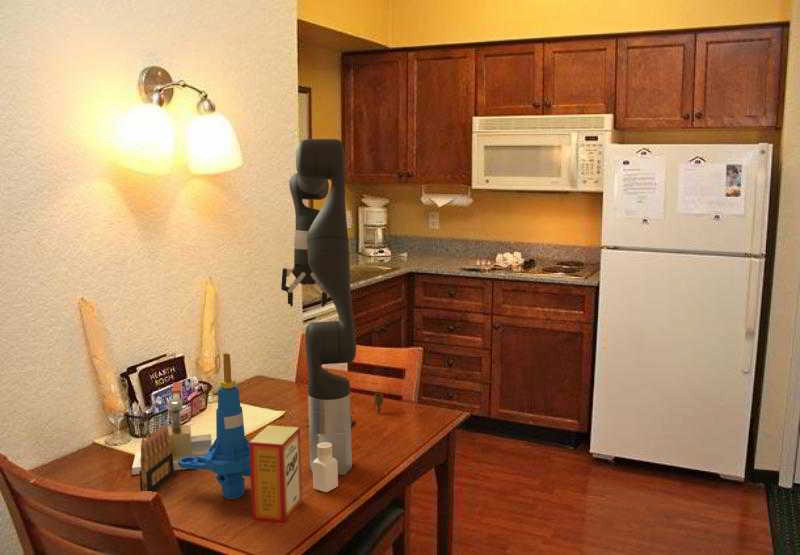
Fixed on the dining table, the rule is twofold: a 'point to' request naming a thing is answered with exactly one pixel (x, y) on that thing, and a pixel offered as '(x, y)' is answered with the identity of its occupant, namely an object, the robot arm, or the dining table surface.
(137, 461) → the mounting board
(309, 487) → the dining table surface
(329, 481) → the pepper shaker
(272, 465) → the baking soda box
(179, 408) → the valve lever
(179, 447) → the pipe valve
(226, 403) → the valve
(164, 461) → the ammunition clip
